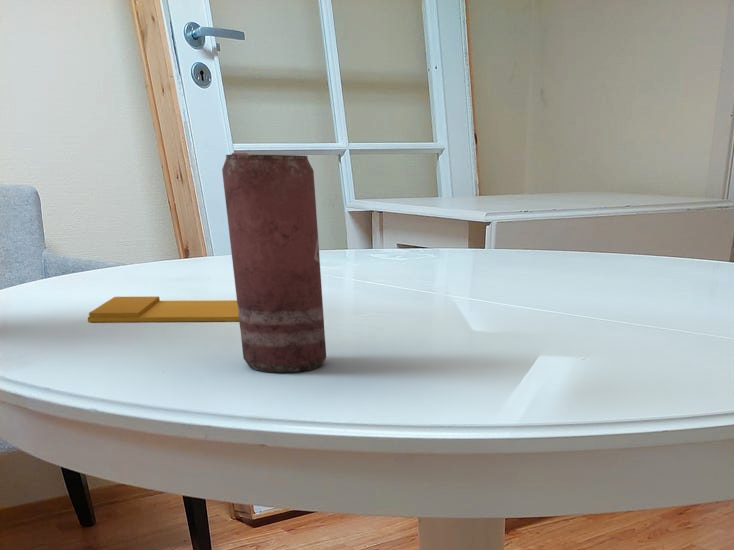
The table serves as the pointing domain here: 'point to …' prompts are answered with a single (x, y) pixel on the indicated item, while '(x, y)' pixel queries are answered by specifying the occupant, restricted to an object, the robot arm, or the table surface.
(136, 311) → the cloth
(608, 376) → the table surface
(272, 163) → the can
